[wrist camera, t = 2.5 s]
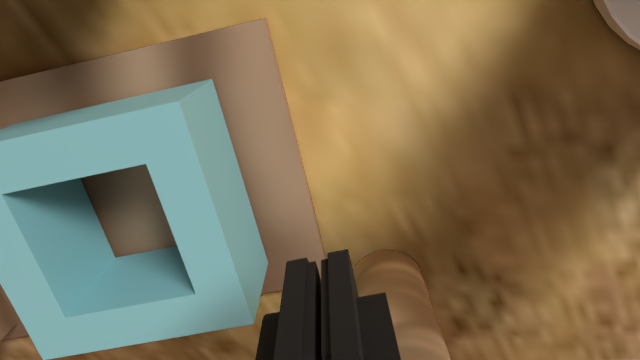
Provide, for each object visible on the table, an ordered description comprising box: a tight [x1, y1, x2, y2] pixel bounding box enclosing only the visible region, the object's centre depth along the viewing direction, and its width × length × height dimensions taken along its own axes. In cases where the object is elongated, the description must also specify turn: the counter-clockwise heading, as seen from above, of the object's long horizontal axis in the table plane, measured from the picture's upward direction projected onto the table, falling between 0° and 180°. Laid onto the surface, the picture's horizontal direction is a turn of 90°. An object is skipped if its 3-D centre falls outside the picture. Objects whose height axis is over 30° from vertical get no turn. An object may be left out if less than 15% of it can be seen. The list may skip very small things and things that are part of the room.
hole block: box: [0, 79, 268, 360], centre depth 21 cm, size 10×10×5 cm
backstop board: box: [0, 18, 326, 341], centre depth 20 cm, size 21×14×8 cm, turn 102°
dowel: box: [353, 250, 451, 360], centre depth 20 cm, size 4×4×12 cm
